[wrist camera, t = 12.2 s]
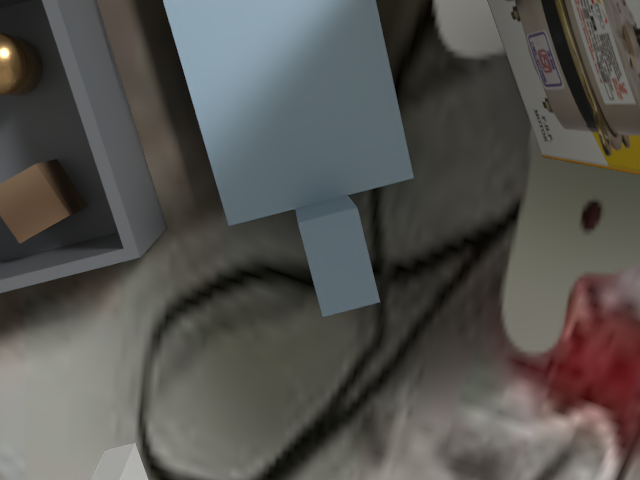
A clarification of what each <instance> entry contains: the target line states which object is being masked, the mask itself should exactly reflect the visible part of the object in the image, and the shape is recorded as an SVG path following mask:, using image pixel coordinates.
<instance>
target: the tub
mask: <svg viewBox="0 0 640 480" xmlns="http://www.w3.org/2000/svg"><path fill="white" fill-rule="evenodd" d="M0 33H3V34H7V35H10V36H14V37H18V38H21V39H23V40H25V41H27V42H29V43H30V44H31V45H32V46H33V47H34V48H35V49H36V50H37V51H38V53H39V55H40V57H41V59H42V63H43V75H42V79H41V81H40V83H39V85H38V86H37V87H36V88H35V89H34V90H33V91H31V92H29V93H27V94H24V95H17V96H16V95H0V184H1V183H3V182H5V181H6V180H8V179H10V178H12V177H13V176H15V175H17V174H19V173H20V172H22V171H24V170H26V169H27V168H29V167H31V166H33V165H34V164H37V163H41V162H46V161H50V160H55V159H57V160H58V161H59V163H60V164H61V166H62V167H63V169H64V171H65V172H66V174H67V175H68V177H69V178H70V180H71V181H72V183H73V184H74V186H75V187H76V189H77V190H78V192H79V193H80V195H81V196H82V198H83V200H84V201H85V203H86V204H87V207H85V208H84V209H82V210H80V211H78V212H77V213H75V214H73V215H71V216H70V217H68V218H66V219H64V220H63V221H61V222H59V223H57V224H56V225H54V226H52V227H50V228H48V229H47V230H45V231H43V232H41V233H39V234H38V235H36V236H34V237H32V238H30V239H28V240H26V241H24V242H22V243H20V244H19V242H18V241H17V239H16V238H15V236H14V235H13V233H12V232H11V231H10V229H9V228H8V226H7V225H6V223H5V222H4V220H3V219H2V218H1V216H0V293H3V292H7V291H11V290H15V289H19V288H23V287H26V286H30V285H34V284H38V283H42V282H46V281H50V280H54V279H58V278H62V277H66V276H70V275H74V274H78V273H81V272H85V271H89V270H93V269H97V268H101V267H105V266H109V265H113V264H117V263H121V262H125V261H129V260H133V259H136V258H140V257H141V256H142V255H143V254H144V253H145V252H146V251H147V250H148V249H149V248H150V246H151V245H152V244H153V243H154V242H155V241H156V240H157V239H158V238H159V237H160V236H161V235H162V234H163V232H164V231H165V230H166V229H167V227H166V224H165V221H164V217H163V214H162V211H161V208H160V204H159V201H158V198H157V195H156V192H155V188H154V185H153V182H152V179H151V175H150V172H149V169H148V166H147V163H146V159H145V156H144V153H143V150H142V146H141V143H140V140H139V137H138V133H137V130H136V127H135V124H134V121H133V117H132V114H131V111H130V108H129V104H128V101H127V98H126V95H125V92H124V88H123V85H122V82H121V79H120V75H119V72H118V69H117V66H116V63H115V59H114V56H113V53H112V50H111V46H110V43H109V40H108V37H107V33H106V30H105V27H104V24H103V21H102V17H101V14H100V11H99V8H98V4H97V1H96V0H0Z"/></svg>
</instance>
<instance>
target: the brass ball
mask: <svg viewBox="0 0 640 480" xmlns="http://www.w3.org/2000/svg"><path fill="white" fill-rule="evenodd" d="M42 75H43V63H42V59H41V57H40V55H39V53H38V51H37V50H36V49H35V48H34V47H33V46H32V45H31V44H30V43H29V42H27V41H25V40H23V39H21V38H18V37H14V36H10V35H7V34H3V33H0V95H16V96H17V95H24V94H27V93H29V92H31V91H33V90H34V89H35V88H36V87H37V86H38V85H39V83H40V81H41V79H42Z"/></svg>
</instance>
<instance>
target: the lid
mask: <svg viewBox="0 0 640 480" xmlns="http://www.w3.org/2000/svg"><path fill="white" fill-rule="evenodd" d="M163 2H164V6H165V9H166V13H167V16H168V20H169V23H170V26H171V30H172V33H173V37H174V40H175V44H176V47H177V50H178V54H179V57H180V61H181V64H182V68H183V71H184V74H185V78H186V81H187V85H188V88H189V92H190V95H191V99H192V102H193V105H194V109H195V112H196V116H197V119H198V123H199V126H200V129H201V133H202V136H203V140H204V143H205V147H206V150H207V153H208V157H209V160H210V164H211V167H212V171H213V174H214V178H215V181H216V184H217V188H218V191H219V195H220V198H221V202H222V205H223V208H224V212H225V215H226V219H227V222H228V226H231V225H235V224H239V223H243V222H247V221H251V220H255V219H258V218H262V217H266V216H270V215H274V214H278V213H282V212H285V211H289V210H293V209H295V210H296V216H297V222H298V226H299V230H300V234H301V237H302V241H303V245H304V249H305V252H306V256H307V260H308V264H309V268H310V271H311V275H312V279H313V283H314V287H315V290H316V294H317V298H318V302H319V305H320V309H321V313H322V317H326V316H330V315H333V314H337V313H341V312H345V311H349V310H352V309H356V308H360V307H364V306H368V305H372V304H375V303H379V302H380V299H379V295H378V291H377V287H376V283H375V278H374V274H373V270H372V266H371V262H370V258H369V253H368V249H367V245H366V241H365V237H364V233H363V228H362V224H361V220H360V216H359V212H358V207H357V206H356V205H355V204H354V202H353V201H352V200H351V199H350V197H349V196H348V195H351V194H355V193H359V192H363V191H366V190H370V189H374V188H378V187H382V186H386V185H390V184H393V183H397V182H401V181H405V180H409V179H413V178H414V176H413V171H412V166H411V162H410V157H409V152H408V148H407V143H406V138H405V134H404V129H403V125H402V120H401V115H400V111H399V106H398V101H397V97H396V92H395V87H394V83H393V78H392V73H391V69H390V64H389V59H388V55H387V50H386V46H385V41H384V36H383V32H382V27H381V22H380V18H379V13H378V8H377V4H376V0H163Z"/></svg>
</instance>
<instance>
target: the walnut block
mask: <svg viewBox="0 0 640 480" xmlns="http://www.w3.org/2000/svg"><path fill="white" fill-rule="evenodd" d="M85 207H87V204H86V203H85V201H84V200H83V198H82V196H81V195H80V193H79V192H78V190H77V189H76V187H75V186H74V184H73V183H72V181H71V180H70V178H69V177H68V175H67V174H66V172H65V171H64V169H63V167H62V166H61V164H60V163H59V161H58V160H57V159H55V160H50V161H46V162H41V163H37V164H34V165H33V166H31V167H29V168H27V169H26V170H24V171H22V172H20V173H19V174H17V175H15V176H13V177H12V178H10V179H8V180H6V181H5V182H3V183H1V184H0V216H1V218H2V219H3V220H4V222H5V223H6V225H7V226H8V228H9V229H10V231H11V232H12V233H13V235H14V236H15V238H16V239H17V241H18V242H19V244H20V243H22V242H24V241H26V240H28V239H30V238H32V237H34V236H36V235H38V234H39V233H41V232H43V231H45V230H47V229H48V228H50V227H52V226H54V225H56V224H57V223H59V222H61V221H63V220H64V219H66V218H68V217H70V216H71V215H73V214H75V213H77V212H78V211H80V210H82V209H84V208H85Z"/></svg>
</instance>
